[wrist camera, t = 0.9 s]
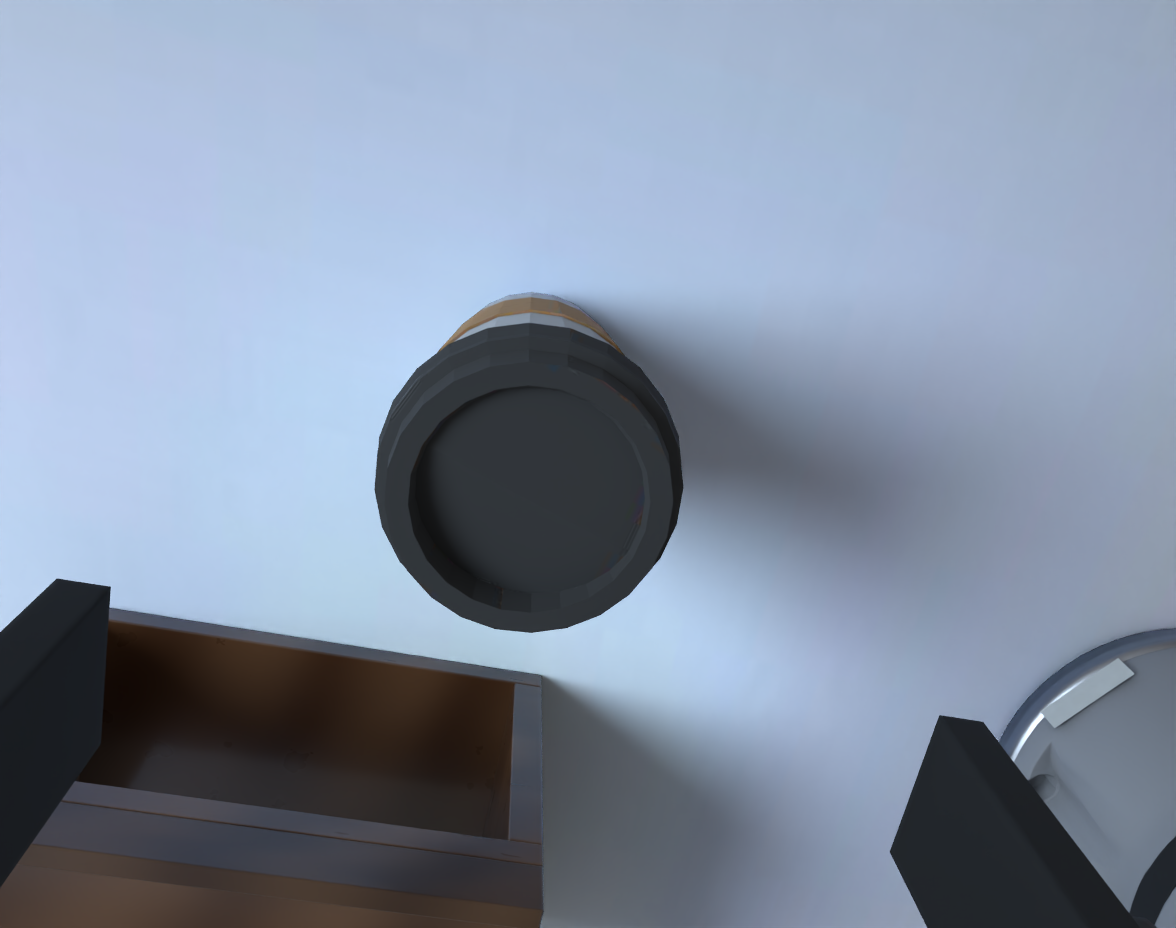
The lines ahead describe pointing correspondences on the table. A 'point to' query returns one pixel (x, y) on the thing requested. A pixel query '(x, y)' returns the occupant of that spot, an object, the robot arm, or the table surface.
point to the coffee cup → (529, 469)
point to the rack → (293, 791)
